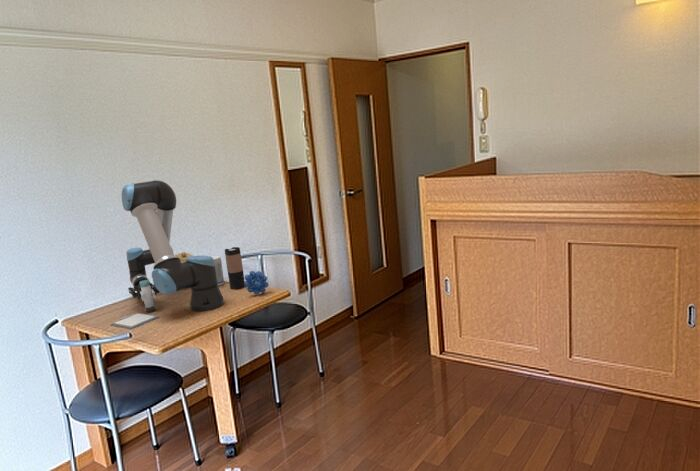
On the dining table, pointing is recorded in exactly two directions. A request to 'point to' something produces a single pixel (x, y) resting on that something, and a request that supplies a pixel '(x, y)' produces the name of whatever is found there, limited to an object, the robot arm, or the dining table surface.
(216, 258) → the supplement tub
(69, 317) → the dining table surface
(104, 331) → the dining table surface
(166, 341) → the dining table surface
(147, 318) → the light grey flat square
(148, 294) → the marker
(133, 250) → the robot arm
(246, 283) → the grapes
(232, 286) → the travel mug
